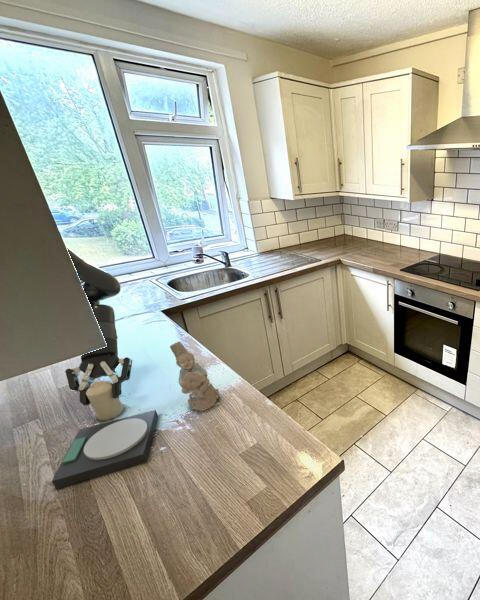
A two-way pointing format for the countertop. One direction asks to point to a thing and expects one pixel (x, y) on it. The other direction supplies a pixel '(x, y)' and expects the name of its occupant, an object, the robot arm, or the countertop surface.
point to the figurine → (194, 379)
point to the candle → (104, 400)
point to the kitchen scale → (107, 448)
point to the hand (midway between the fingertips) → (101, 401)
